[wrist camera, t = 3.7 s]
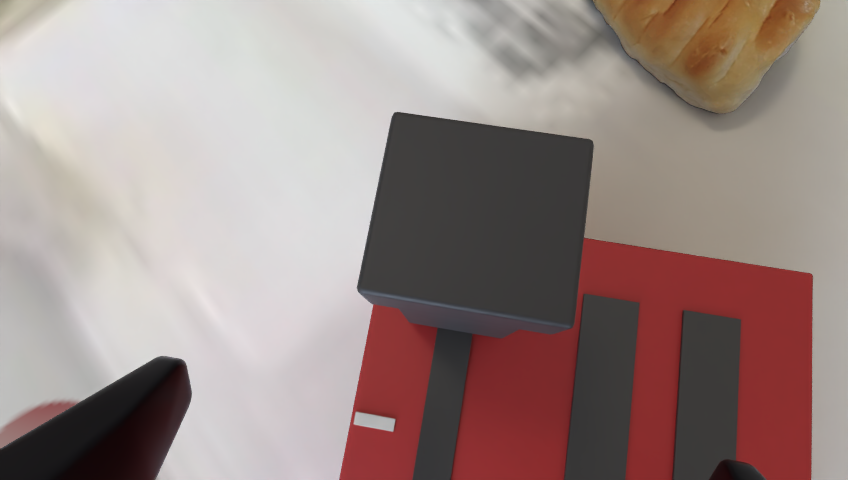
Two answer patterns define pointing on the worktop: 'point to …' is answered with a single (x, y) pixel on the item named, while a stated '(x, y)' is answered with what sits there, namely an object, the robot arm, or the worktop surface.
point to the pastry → (708, 42)
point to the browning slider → (478, 226)
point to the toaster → (600, 381)
